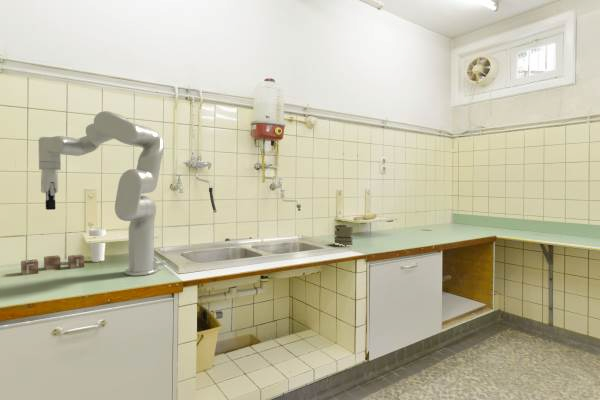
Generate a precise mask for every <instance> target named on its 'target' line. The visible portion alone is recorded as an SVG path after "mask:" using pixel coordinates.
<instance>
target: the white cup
mask: <svg viewBox="0 0 600 400" xmlns="http://www.w3.org/2000/svg"><path fill="white" fill-rule="evenodd" d="M106 229H107V228H91V229H89V230H88V236H104V235H106V236H107V232H106V231H107V230H106ZM89 248H90V260H91V262H92V263H101V262H104V261H105V254H106V253H105V251H106V243H90V242H89ZM100 261H101V262H100Z"/></svg>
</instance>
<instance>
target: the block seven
mask: <svg viewBox="0 0 600 400" xmlns="http://www.w3.org/2000/svg"><path fill="white" fill-rule="evenodd" d="M20 268H21V269H20V273H21V275H22V276H30V275H37V274H39V261H38V259H28V260H21V261H20Z"/></svg>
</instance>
